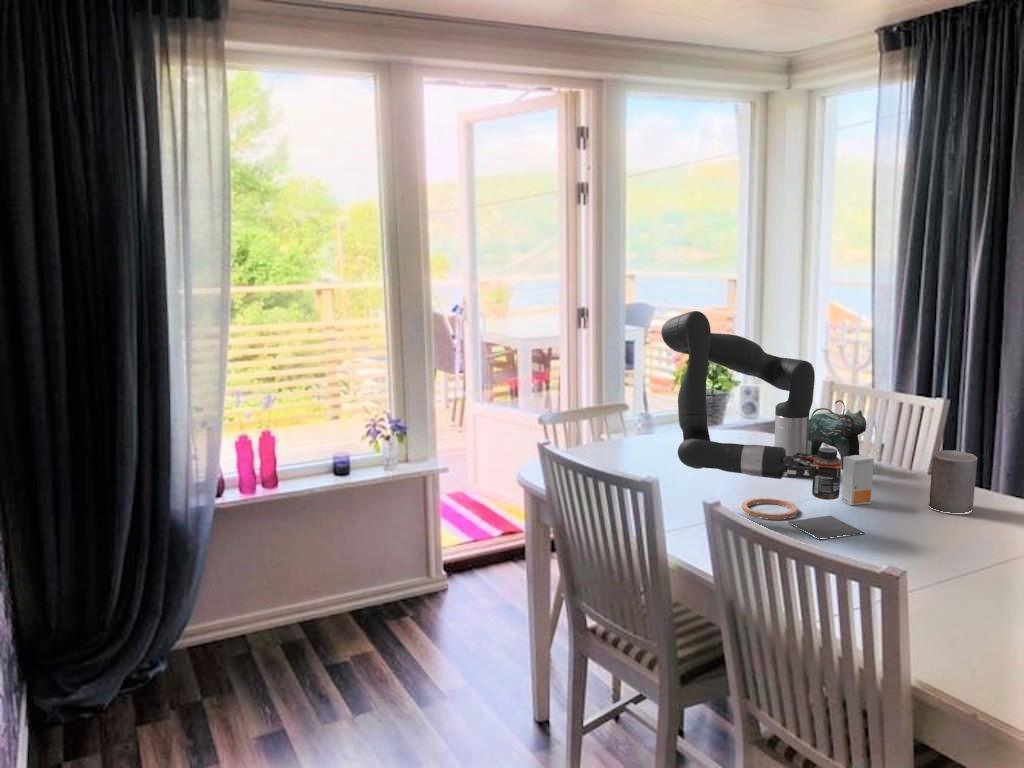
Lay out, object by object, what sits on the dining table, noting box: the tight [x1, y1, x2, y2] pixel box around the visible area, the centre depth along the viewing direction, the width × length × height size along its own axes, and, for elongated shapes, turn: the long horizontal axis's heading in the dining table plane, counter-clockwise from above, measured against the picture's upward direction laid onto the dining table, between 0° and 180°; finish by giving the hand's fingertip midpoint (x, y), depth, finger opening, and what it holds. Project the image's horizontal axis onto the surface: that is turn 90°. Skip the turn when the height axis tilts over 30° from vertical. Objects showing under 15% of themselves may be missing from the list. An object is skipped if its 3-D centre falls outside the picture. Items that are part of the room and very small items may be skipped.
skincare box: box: [840, 454, 875, 506], centre depth 202 cm, size 6×4×12 cm
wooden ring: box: [741, 497, 799, 520], centre depth 199 cm, size 13×13×1 cm
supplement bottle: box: [811, 447, 842, 501], centre depth 183 cm, size 6×6×11 cm
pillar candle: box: [928, 449, 978, 513], centre depth 195 cm, size 10×10×15 cm
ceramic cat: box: [808, 399, 867, 471], centre depth 235 cm, size 20×6×20 cm, turn 25°
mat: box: [787, 515, 865, 539], centre depth 186 cm, size 12×12×1 cm
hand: (838, 469), depth 182 cm, fingers closed on supplement bottle, 6 cm apart
